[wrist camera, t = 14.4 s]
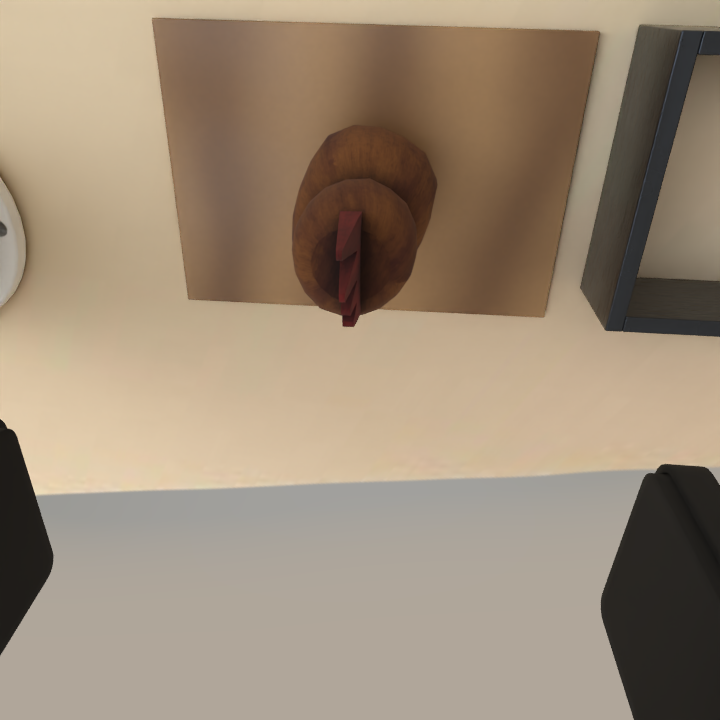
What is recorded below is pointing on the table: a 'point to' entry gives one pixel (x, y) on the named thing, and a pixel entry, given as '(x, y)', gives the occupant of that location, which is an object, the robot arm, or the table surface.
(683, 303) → the box
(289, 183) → the brown wooden board
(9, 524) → the robot arm
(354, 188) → the wooden figurine
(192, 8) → the table surface
